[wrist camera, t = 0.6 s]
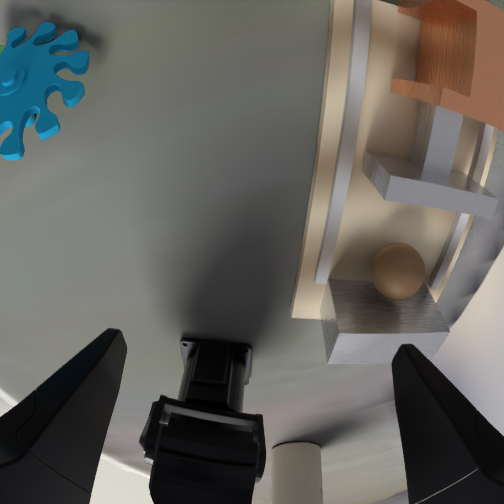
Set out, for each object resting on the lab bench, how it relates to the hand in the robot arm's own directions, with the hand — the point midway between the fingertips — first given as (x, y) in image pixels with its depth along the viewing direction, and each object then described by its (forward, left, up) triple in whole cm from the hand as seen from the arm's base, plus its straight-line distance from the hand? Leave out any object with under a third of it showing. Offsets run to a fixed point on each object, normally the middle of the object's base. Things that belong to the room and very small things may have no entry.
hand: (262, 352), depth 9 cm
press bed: (+2, -9, -12) cm, 15 cm away
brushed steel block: (-7, -9, -11) cm, 15 cm away
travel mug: (-42, -9, -12) cm, 45 cm away
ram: (+8, -9, -10) cm, 16 cm away
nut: (-3, -9, -11) cm, 14 cm away
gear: (+9, +15, -12) cm, 21 cm away
